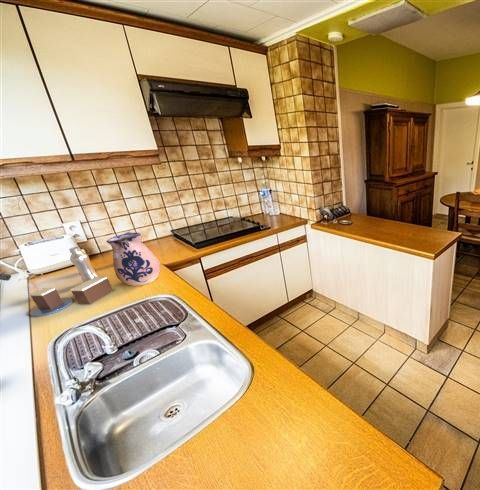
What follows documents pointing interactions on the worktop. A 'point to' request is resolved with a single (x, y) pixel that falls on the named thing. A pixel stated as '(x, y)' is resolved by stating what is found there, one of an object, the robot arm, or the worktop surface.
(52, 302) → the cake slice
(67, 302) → the plate
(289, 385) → the worktop surface
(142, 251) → the ceramic pitcher
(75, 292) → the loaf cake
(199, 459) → the worktop surface
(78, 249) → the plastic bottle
